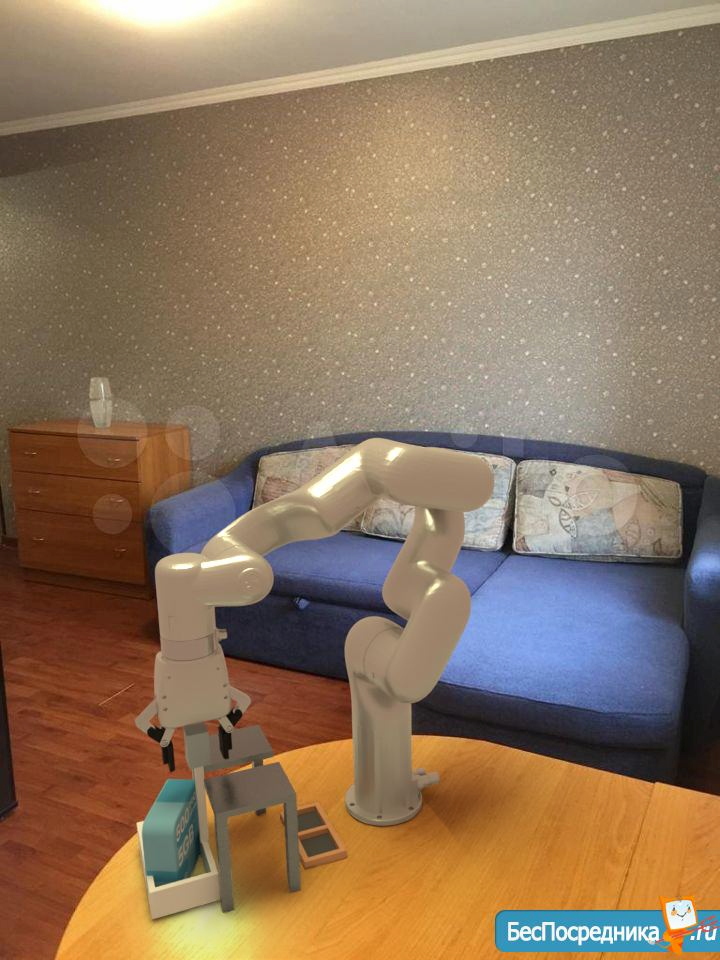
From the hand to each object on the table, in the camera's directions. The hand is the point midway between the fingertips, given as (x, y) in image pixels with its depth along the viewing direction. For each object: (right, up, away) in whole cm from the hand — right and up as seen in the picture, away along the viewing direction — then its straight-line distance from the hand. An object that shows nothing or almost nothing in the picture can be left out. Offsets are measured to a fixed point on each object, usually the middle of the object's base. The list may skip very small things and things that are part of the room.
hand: (198, 759), depth 111 cm
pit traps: (+16, -15, +9) cm, 24 cm away
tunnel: (+6, -16, +6) cm, 18 cm away
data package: (-3, -17, +2) cm, 18 cm away
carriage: (-3, -17, +2) cm, 18 cm away
